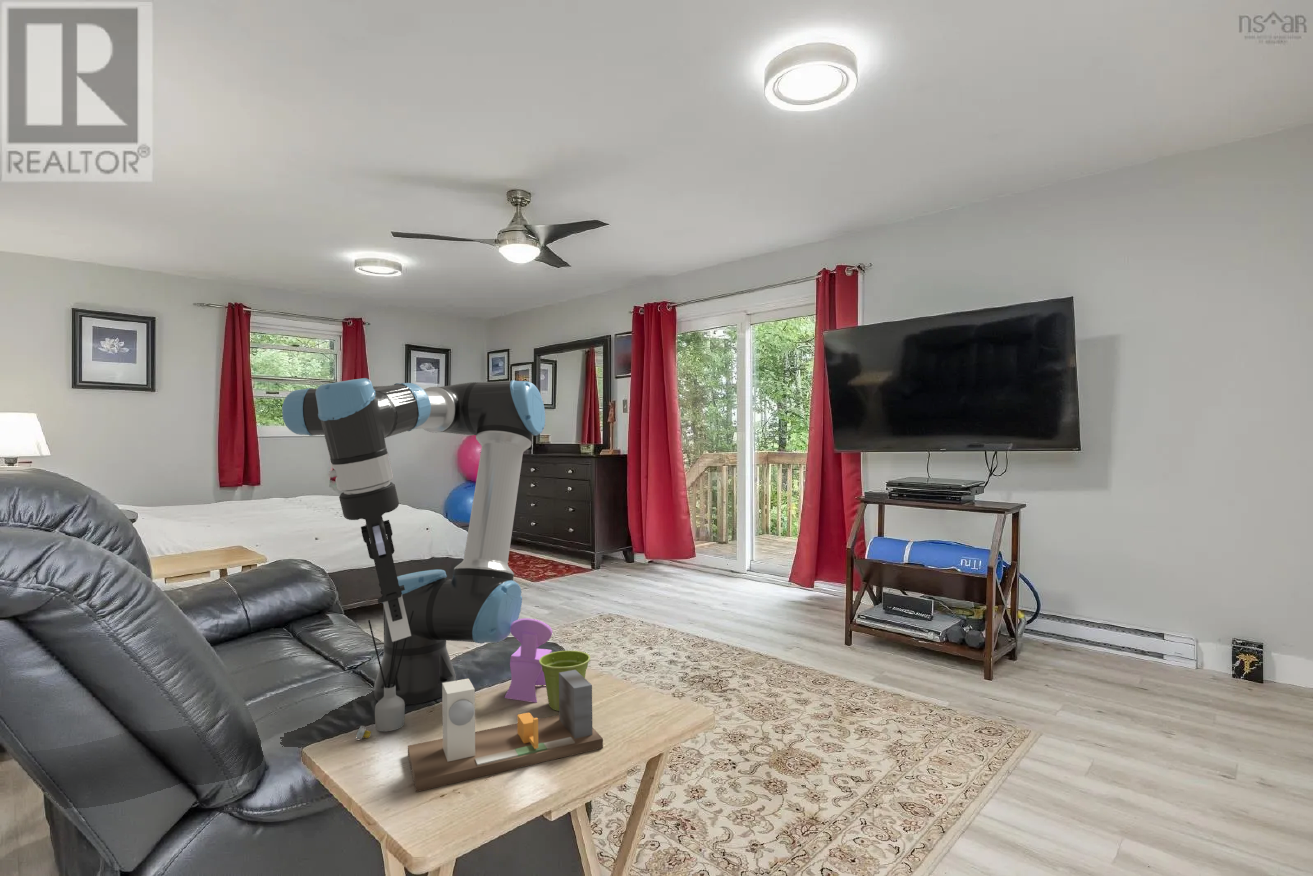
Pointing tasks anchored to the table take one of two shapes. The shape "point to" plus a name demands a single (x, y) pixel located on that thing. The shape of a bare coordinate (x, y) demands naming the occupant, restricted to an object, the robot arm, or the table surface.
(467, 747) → the block
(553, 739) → the gauge board
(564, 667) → the plant pot
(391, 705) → the reed diffuser
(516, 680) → the toy chair
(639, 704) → the table surface
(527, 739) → the orange l-shaped piece
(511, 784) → the table surface
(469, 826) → the table surface
